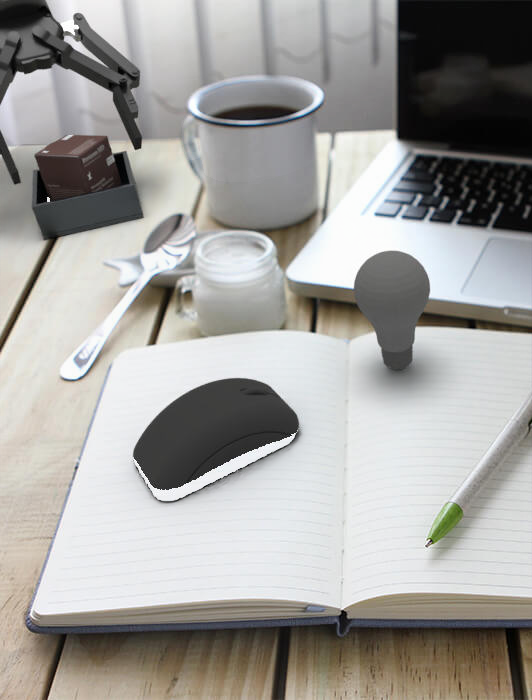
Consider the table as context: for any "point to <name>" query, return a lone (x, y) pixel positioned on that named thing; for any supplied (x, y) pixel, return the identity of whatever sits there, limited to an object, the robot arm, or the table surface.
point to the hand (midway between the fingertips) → (79, 161)
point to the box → (77, 166)
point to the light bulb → (393, 302)
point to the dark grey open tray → (87, 205)
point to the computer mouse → (211, 430)
